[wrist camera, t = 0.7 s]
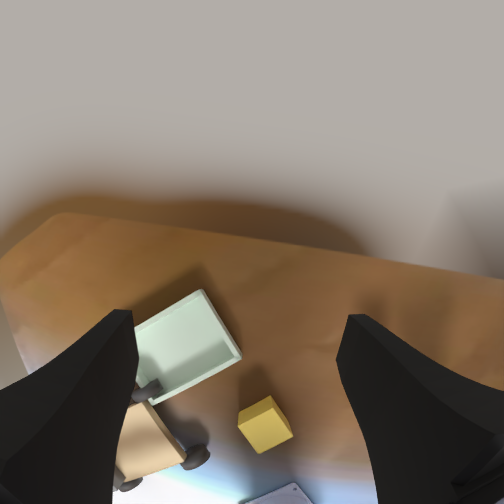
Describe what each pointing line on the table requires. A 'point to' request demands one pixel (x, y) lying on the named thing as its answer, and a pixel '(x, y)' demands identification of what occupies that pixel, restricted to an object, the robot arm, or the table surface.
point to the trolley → (149, 443)
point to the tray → (183, 346)
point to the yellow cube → (264, 425)
